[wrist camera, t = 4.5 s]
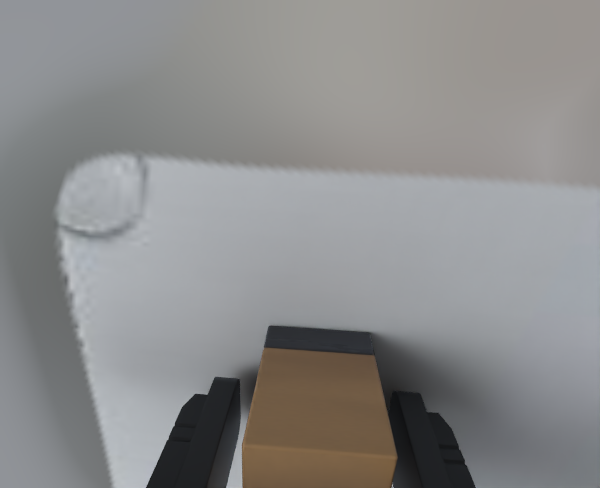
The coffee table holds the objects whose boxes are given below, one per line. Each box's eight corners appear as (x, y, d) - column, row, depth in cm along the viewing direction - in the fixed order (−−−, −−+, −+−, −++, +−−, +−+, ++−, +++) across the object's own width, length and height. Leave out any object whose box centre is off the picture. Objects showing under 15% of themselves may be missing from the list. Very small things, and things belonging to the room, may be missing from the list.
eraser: (268, 324, 11) (241, 445, 7) (370, 331, 10) (398, 458, 7) (265, 446, 12) (243, 593, 9) (352, 453, 12) (367, 604, 9)
